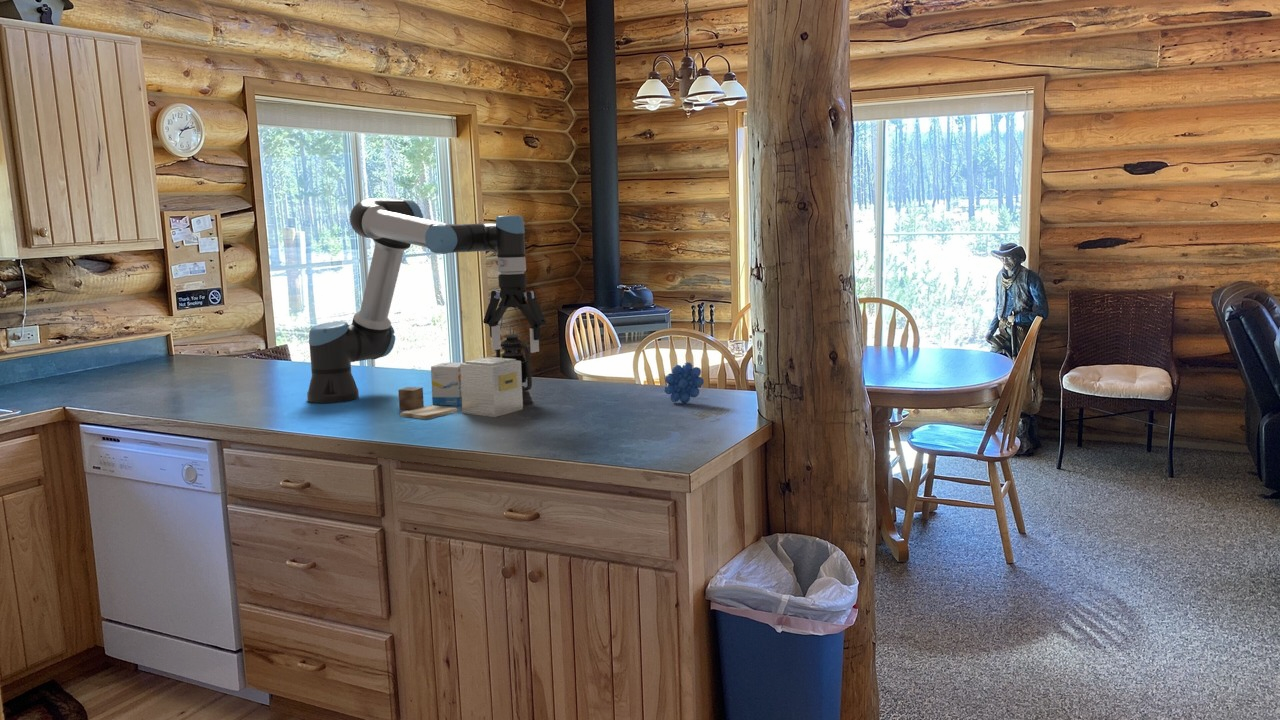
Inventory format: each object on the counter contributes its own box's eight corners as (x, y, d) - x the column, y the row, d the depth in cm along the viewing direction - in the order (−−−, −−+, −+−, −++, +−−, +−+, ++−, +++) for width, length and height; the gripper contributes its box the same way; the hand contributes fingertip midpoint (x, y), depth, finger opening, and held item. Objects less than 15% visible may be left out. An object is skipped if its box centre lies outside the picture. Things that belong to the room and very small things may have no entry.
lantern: (541, 400, 285) (538, 300, 280) (523, 407, 275) (518, 303, 271) (506, 398, 290) (502, 299, 286) (486, 404, 280) (482, 302, 276)
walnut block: (399, 410, 275) (398, 389, 274) (408, 407, 280) (407, 386, 279) (414, 411, 273) (413, 390, 273) (423, 407, 278) (422, 387, 277)
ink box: (458, 406, 279) (456, 366, 278) (431, 405, 281) (429, 366, 279) (469, 400, 288) (468, 362, 286) (443, 400, 289) (441, 361, 288)
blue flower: (707, 401, 278) (706, 360, 277) (702, 405, 272) (701, 364, 270) (668, 399, 282) (667, 359, 280) (662, 404, 275) (661, 363, 274)
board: (400, 416, 266) (400, 412, 266) (431, 408, 276) (431, 405, 276) (426, 419, 261) (426, 415, 261) (457, 411, 271) (457, 408, 271)
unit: (462, 413, 268) (460, 361, 266) (491, 405, 278) (488, 356, 276) (496, 417, 262) (493, 364, 260) (524, 409, 272) (522, 358, 270)
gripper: (468, 273, 262) (472, 350, 265) (539, 274, 248) (542, 355, 251) (486, 271, 268) (490, 346, 271) (557, 272, 255) (560, 351, 258)
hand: (515, 350), depth 261 cm, fingers open, 13 cm apart
